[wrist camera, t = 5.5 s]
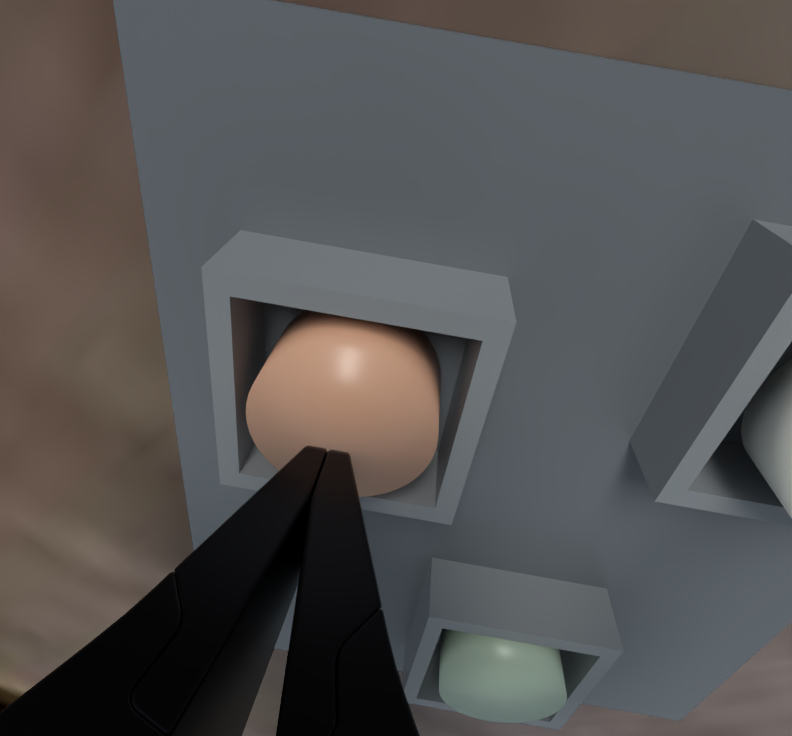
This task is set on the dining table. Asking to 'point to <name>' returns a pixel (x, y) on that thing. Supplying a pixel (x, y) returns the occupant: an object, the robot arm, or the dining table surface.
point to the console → (490, 319)
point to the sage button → (499, 678)
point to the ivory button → (772, 433)
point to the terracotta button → (350, 398)
